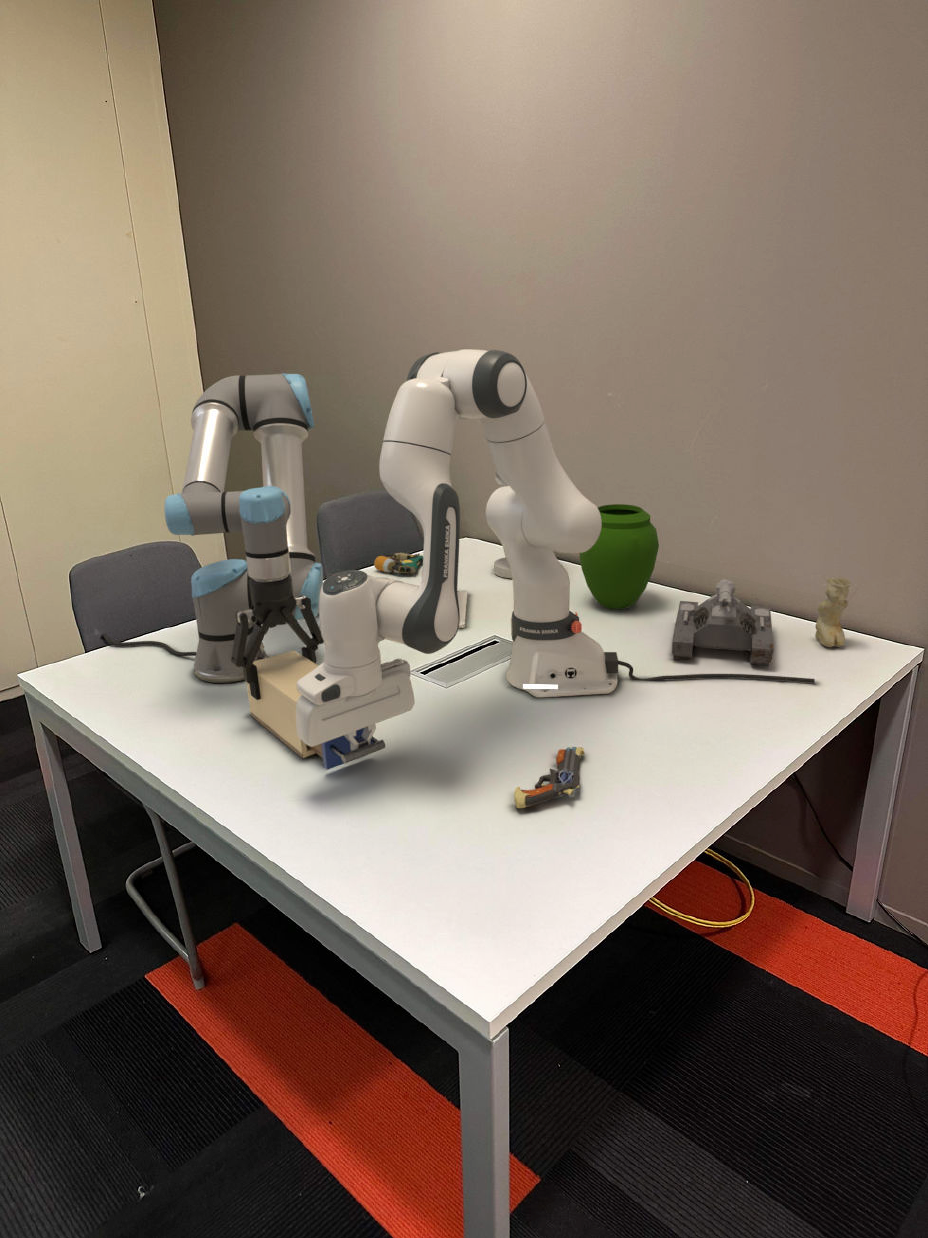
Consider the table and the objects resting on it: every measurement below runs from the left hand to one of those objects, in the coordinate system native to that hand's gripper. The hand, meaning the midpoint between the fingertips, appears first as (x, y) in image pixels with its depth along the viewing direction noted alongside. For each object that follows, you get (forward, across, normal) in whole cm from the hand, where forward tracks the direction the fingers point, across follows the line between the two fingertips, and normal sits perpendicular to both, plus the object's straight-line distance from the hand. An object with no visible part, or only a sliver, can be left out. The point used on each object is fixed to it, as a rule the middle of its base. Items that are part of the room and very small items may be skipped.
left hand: (283, 688), depth 160 cm
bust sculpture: (+6, -90, -36) cm, 97 cm away
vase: (+6, -92, -2) cm, 92 cm away
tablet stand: (+6, -54, -30) cm, 62 cm away
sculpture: (+6, -108, +46) cm, 117 cm away
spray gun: (+6, -69, -65) cm, 95 cm away
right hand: (+1, 0, +28) cm, 28 cm away
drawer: (+5, 0, +17) cm, 18 cm away
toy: (+6, -90, +31) cm, 96 cm away
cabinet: (+6, 0, +6) cm, 8 cm away
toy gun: (+6, -23, +49) cm, 54 cm away
